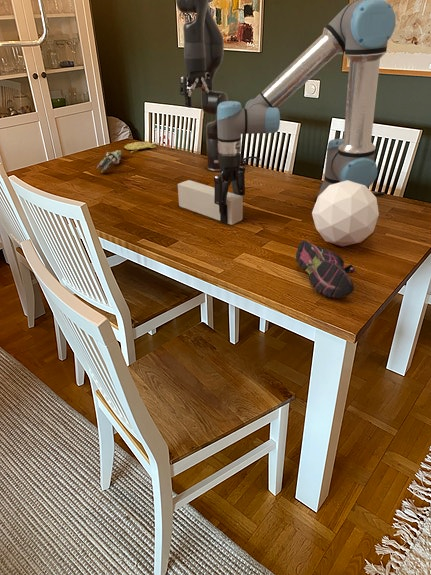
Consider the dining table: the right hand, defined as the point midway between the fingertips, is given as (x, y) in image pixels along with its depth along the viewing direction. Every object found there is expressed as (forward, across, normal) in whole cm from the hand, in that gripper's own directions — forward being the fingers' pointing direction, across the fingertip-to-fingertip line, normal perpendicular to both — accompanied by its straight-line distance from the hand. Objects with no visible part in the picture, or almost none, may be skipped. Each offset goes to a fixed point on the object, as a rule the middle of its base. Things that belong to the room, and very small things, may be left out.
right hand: (230, 218), depth 156 cm
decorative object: (0, +40, +101) cm, 108 cm away
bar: (0, 0, +10) cm, 10 cm away
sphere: (0, +10, -38) cm, 40 cm away
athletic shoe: (0, -13, -48) cm, 50 cm away
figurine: (0, +11, +87) cm, 88 cm away
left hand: (-33, +14, +28) cm, 46 cm away
